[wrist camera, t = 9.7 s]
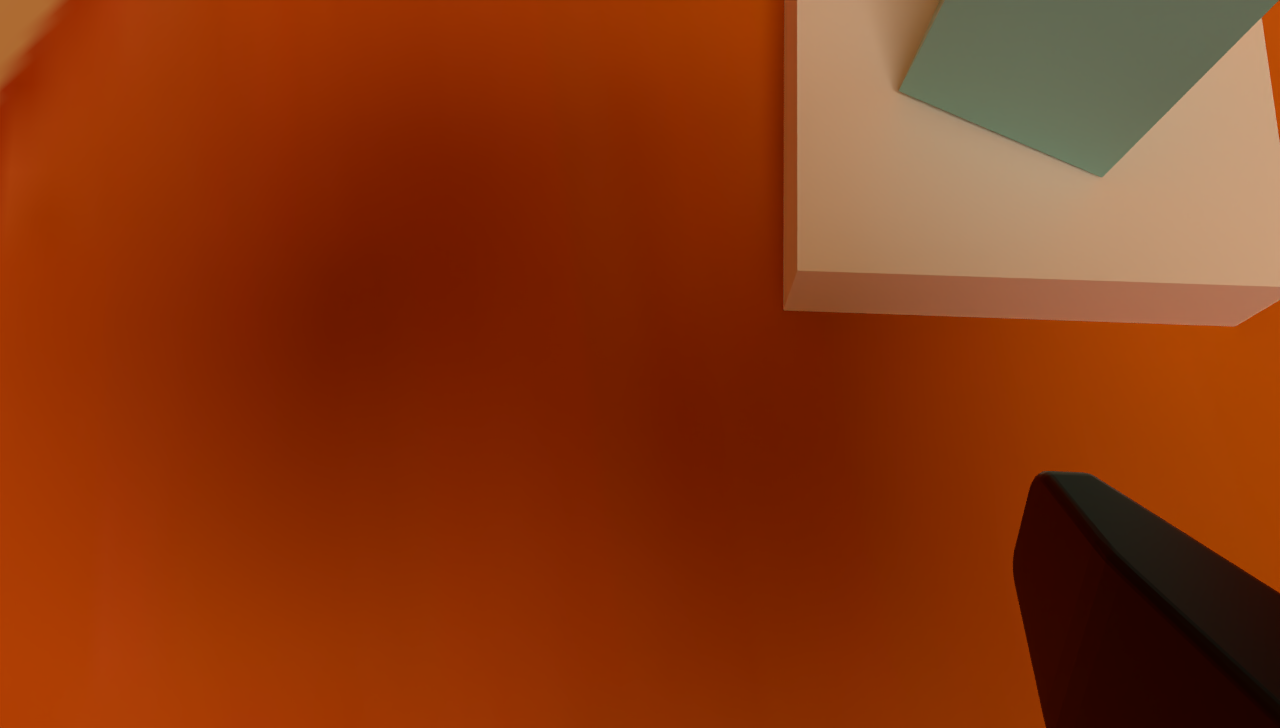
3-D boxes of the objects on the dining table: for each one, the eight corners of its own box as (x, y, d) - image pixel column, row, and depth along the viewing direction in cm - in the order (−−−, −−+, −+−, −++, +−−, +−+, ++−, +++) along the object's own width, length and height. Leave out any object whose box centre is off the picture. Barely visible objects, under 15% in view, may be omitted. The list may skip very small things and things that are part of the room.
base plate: (1222, 333, 24) (1300, 287, 21) (780, 318, 24) (797, 270, 21) (1177, -42, 27) (1241, -128, 24) (781, -52, 27) (796, -139, 24)
